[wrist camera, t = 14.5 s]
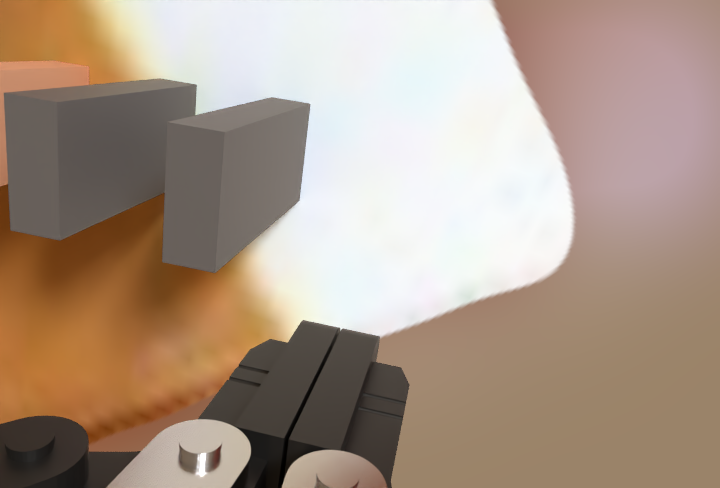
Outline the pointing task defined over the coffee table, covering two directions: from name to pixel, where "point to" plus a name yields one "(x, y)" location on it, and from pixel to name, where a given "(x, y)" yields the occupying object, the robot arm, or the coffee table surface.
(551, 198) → the coffee table surface
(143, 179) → the domino
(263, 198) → the domino
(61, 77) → the domino
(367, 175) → the coffee table surface
